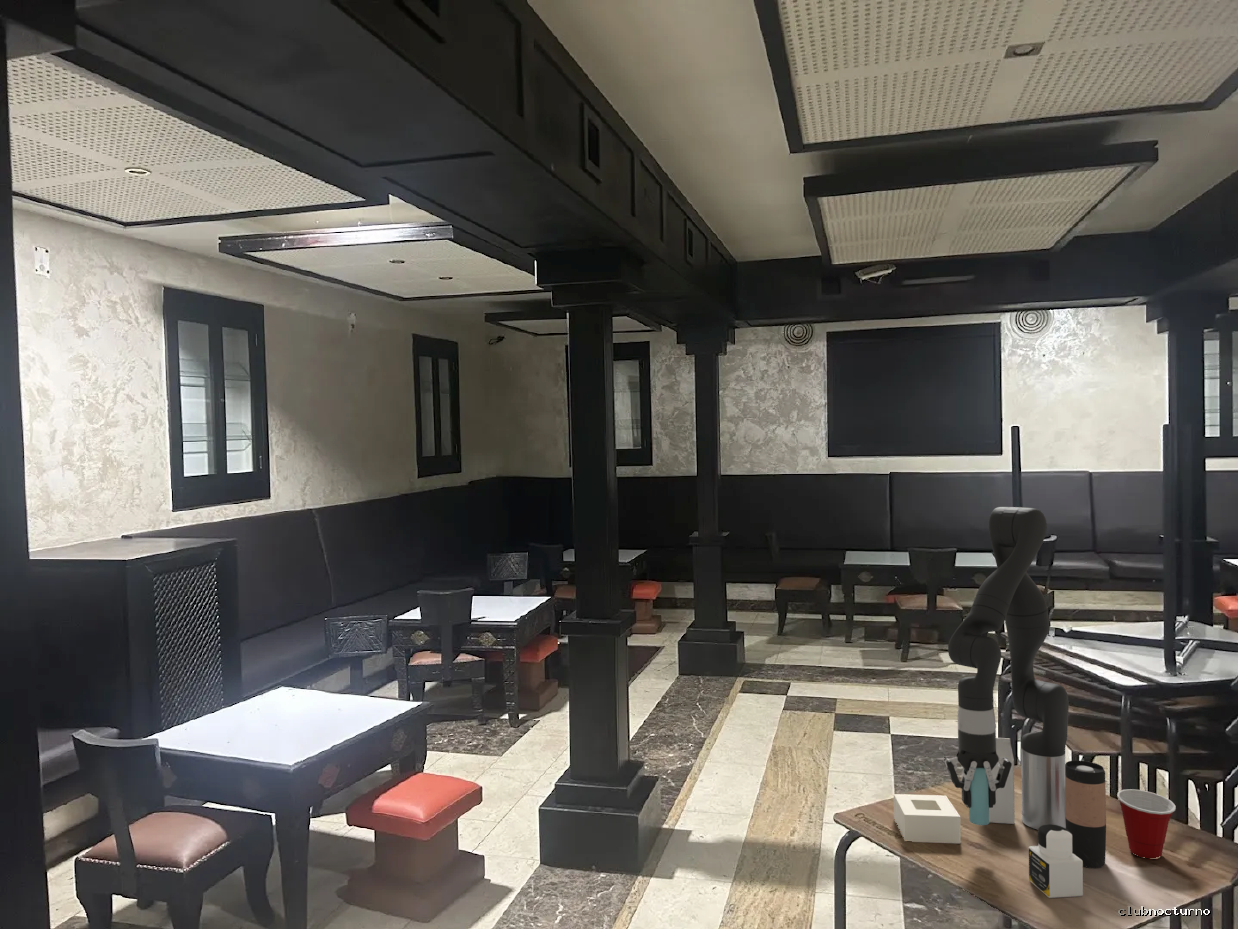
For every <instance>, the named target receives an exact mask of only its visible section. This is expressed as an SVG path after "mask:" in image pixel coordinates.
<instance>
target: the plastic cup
mask: <svg viewBox="0 0 1238 929" xmlns="http://www.w3.org/2000/svg"><path fill="white" fill-rule="evenodd" d="M1116 795H1117V796H1116V797H1117V799H1118V801H1119V805H1120V808H1121V812H1122V817H1123V823H1124V828H1125V835H1126V837H1127V843H1128V848H1129V852H1130V853H1131V852H1132V853H1134V854H1136V855H1138V856H1140V857H1145V858H1156V857H1159V856H1161V857H1162V856H1163V850H1164V845H1165V842H1166V836H1167V833H1168V827H1169V823H1170V820H1171V817H1172V815H1173V813H1174V812H1175V811H1176V809H1177V808H1176V805H1175V803H1174V802H1173V801H1172V800H1170V799H1169V798H1167V797H1165V796H1163V795H1160V794H1158V793H1154V792H1151V791H1147V790H1144V789H1143V790H1142V789H1134V788H1132V789H1131V788H1130V789H1121V790H1120V791H1118V792H1117V794H1116ZM1132 853H1131V854H1132ZM1134 854H1133V855H1134ZM1138 856H1137V857H1138ZM1140 857H1139V858H1140Z"/></svg>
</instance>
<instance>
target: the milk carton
mask: <svg viewBox="0 0 1238 929" xmlns="http://www.w3.org/2000/svg"><path fill="white" fill-rule="evenodd" d="M996 753H997V755H998V757H1000V758H1007V759H1008V760H1009V761H1010V762H1011V763H1012V766H1011V769H1010V772H1009V775H1008V778H1007V781H1006V784H1005V787H1004V788H998V789H997V790H996V804H995V805H993V808H989V823H996V824H1009V825H1010V824H1012V825H1014V824H1015V821H1016V820H1015V819H1016V818H1015V817H1016V814H1015V759H1014V754H1013V753H1014V752H1013V749H1012V744H1011V738H1005V737H996ZM999 768H1000V767H999V766H998V763H997V764H996V765H995V767H994V768H993V769H992V775H993V778H994V780H996V777H997V774H998V771H999Z"/></svg>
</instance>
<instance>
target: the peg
mask: <svg viewBox="0 0 1238 929" xmlns="http://www.w3.org/2000/svg"><path fill="white" fill-rule="evenodd" d="M969 790H970V791H971V808H968V815H969V816H968V817H969V818H968V819H969V820H968V821H969V822H970V823H971V824H973V825H976V826H987V825H989V824H990V822H989V789H988V779H987V775H986V770H985V769H984V768H976V769H975V772H974V776H973V780H972V781H971V785H970V789H969Z"/></svg>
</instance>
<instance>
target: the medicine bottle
mask: <svg viewBox="0 0 1238 929" xmlns="http://www.w3.org/2000/svg"><path fill="white" fill-rule="evenodd" d="M1037 834H1038V835H1037V841H1038V842H1037V843H1038V845H1032V846H1031V845H1030V846H1028V880H1029V882H1030V883H1031V884H1032V885H1033V886H1035V888H1037V889H1038V890H1039V891H1041V892H1042V893H1043V894H1044V895H1045V896H1046V897H1047V898H1049V899H1054V898H1055V899H1057V898H1072V897H1075V898H1076V897H1083V896H1084V875H1083V873H1084V870H1083V868H1084V867H1083V861H1082V860H1081V859H1080V858H1078V857H1077V856H1076V855H1074V854H1073V853H1072V834H1071V832H1070V831H1069V830H1067V829H1066V828H1064V827H1061V826H1058V825H1052V824H1048V825H1042V826H1040V827H1039V828H1038V830H1037Z"/></svg>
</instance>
